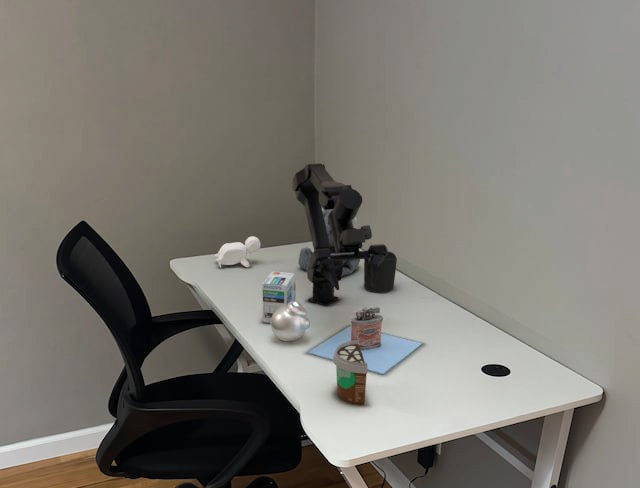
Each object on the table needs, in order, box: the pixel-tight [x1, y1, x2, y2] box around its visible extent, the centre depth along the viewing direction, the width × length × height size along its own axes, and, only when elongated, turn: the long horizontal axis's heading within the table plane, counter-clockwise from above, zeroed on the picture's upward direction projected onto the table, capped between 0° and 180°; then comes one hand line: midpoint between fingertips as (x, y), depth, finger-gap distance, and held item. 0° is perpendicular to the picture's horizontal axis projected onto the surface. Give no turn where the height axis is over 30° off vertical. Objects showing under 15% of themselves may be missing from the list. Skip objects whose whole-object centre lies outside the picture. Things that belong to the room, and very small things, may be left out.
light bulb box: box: [261, 270, 297, 324], centre depth 183 cm, size 11×7×11 cm, turn 168°
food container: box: [332, 340, 368, 406], centre depth 145 cm, size 12×6×10 cm, turn 5°
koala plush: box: [298, 208, 361, 277], centre depth 217 cm, size 17×18×20 cm
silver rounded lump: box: [270, 300, 311, 342], centre depth 170 cm, size 9×10×10 cm
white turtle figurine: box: [214, 235, 261, 269], centre depth 224 cm, size 9×8×15 cm
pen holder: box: [363, 251, 398, 294], centre depth 204 cm, size 9×9×10 cm
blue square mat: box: [308, 325, 422, 375], centre depth 168 cm, size 20×20×1 cm
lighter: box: [350, 306, 384, 351], centre depth 166 cm, size 8×3×10 cm, turn 113°
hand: (356, 287), depth 169 cm, fingers open, 9 cm apart
